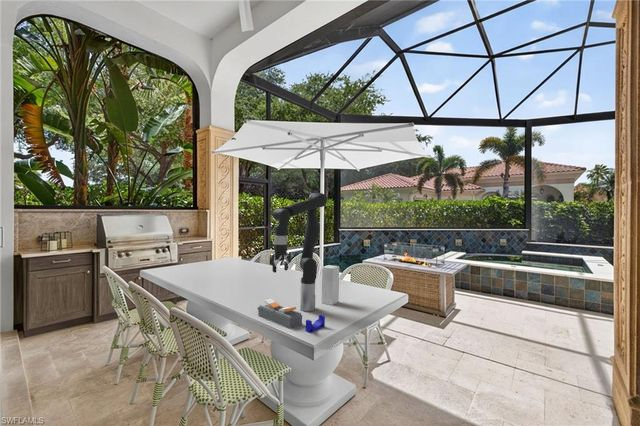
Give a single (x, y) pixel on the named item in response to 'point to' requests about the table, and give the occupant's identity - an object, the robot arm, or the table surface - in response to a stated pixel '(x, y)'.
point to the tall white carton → (330, 284)
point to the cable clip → (315, 324)
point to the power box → (280, 316)
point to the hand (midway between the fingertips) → (280, 271)
